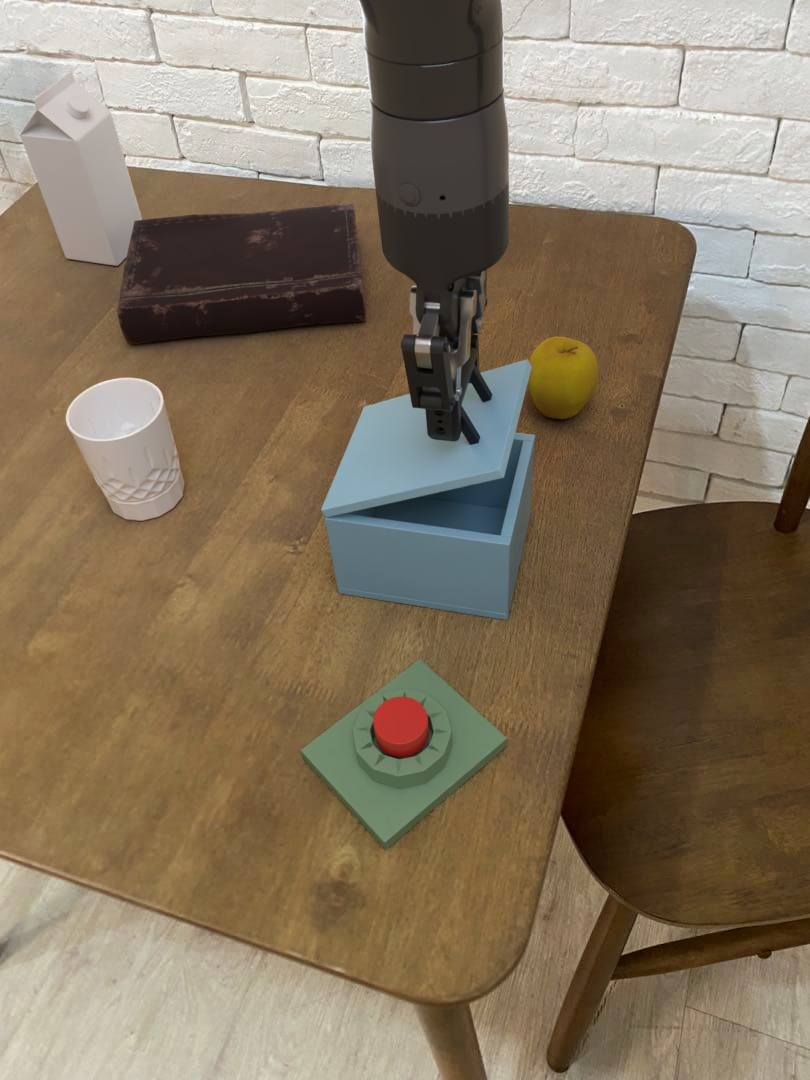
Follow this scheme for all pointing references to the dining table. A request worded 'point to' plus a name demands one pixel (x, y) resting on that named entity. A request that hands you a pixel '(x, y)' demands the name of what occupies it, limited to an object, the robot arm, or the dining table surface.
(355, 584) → the box
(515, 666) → the dining table surface
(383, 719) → the button
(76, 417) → the white cup
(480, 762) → the green button base
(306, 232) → the diary
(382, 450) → the lid
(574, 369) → the apple
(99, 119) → the milk carton
